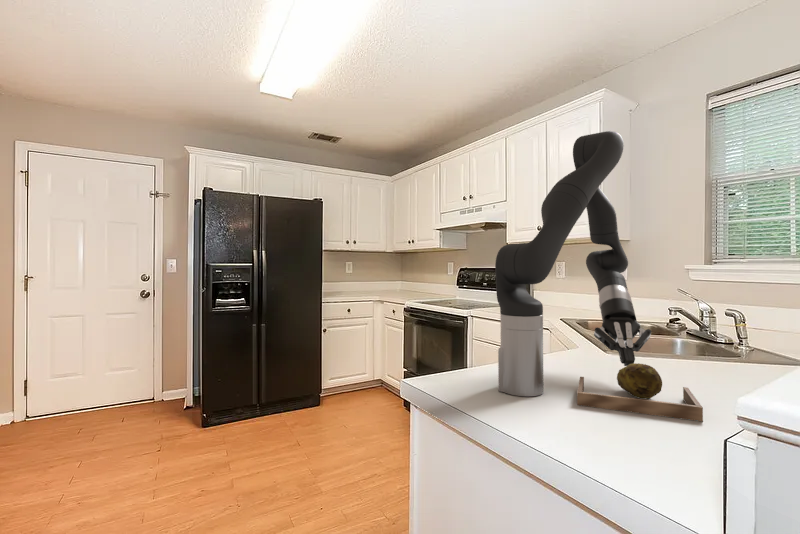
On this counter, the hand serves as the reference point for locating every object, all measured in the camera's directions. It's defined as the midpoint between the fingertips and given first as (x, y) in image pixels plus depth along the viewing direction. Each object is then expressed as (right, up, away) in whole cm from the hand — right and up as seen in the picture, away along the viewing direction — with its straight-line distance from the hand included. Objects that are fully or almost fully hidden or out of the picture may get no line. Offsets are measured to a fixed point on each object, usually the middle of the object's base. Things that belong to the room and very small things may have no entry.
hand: (628, 364), depth 93 cm
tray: (-5, -5, -10) cm, 12 cm away
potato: (-2, -6, -8) cm, 10 cm away
